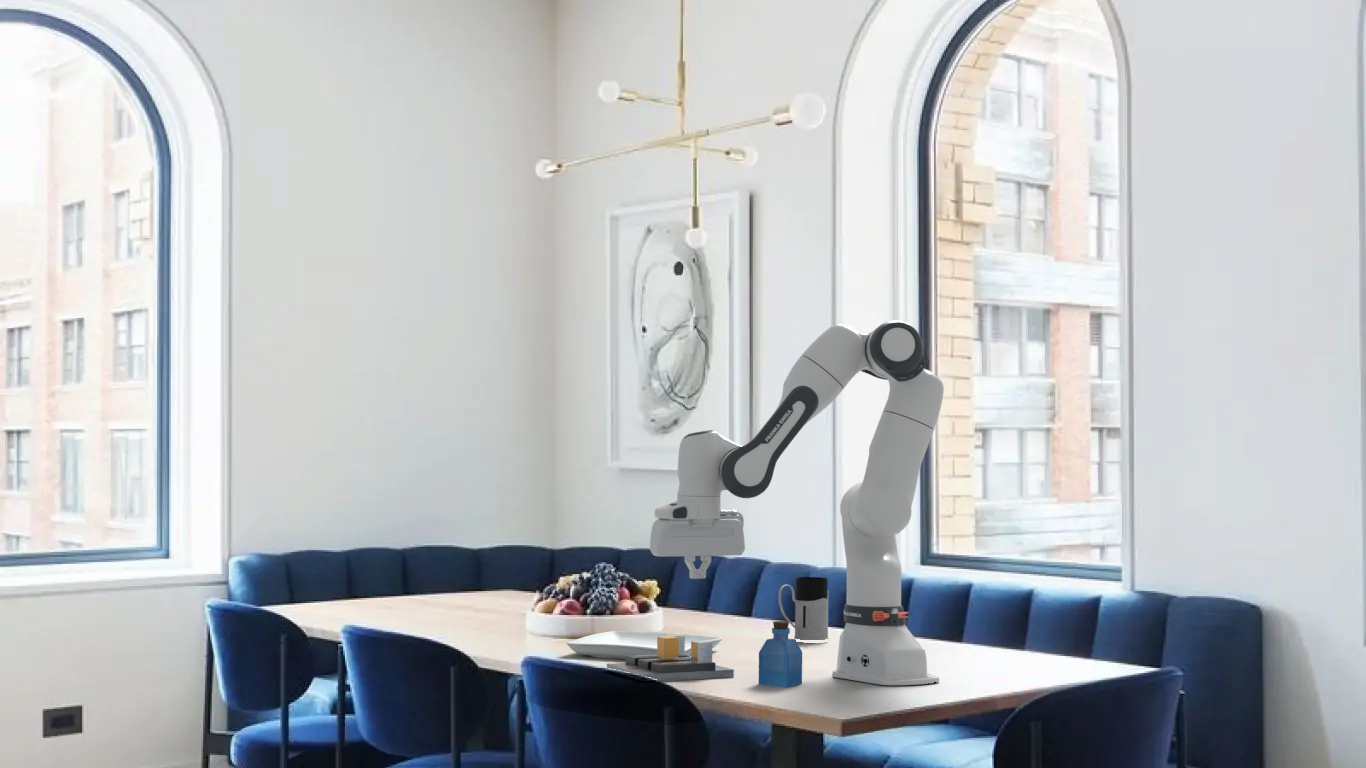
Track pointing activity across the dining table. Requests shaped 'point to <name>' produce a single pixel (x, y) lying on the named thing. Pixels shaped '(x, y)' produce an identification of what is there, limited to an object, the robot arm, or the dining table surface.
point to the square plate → (628, 644)
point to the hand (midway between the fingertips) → (697, 578)
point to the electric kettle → (809, 608)
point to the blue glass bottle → (780, 659)
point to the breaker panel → (675, 675)
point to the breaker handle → (667, 647)
